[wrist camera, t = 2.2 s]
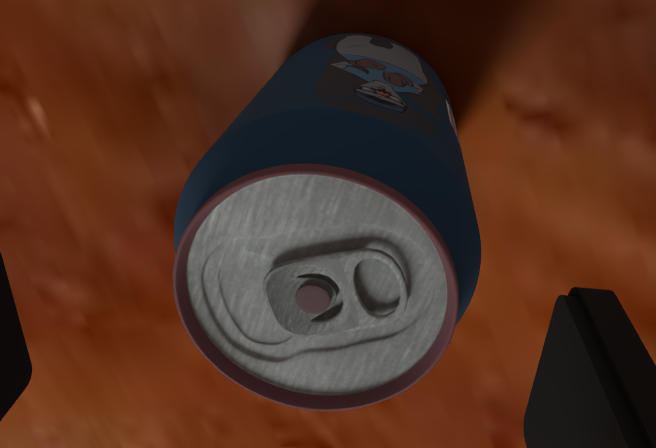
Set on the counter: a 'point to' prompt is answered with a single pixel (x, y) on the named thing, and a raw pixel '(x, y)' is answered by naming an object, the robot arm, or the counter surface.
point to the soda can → (330, 230)
